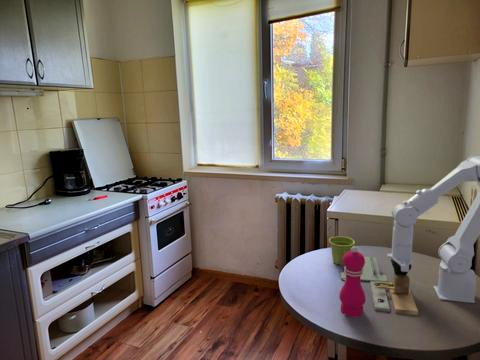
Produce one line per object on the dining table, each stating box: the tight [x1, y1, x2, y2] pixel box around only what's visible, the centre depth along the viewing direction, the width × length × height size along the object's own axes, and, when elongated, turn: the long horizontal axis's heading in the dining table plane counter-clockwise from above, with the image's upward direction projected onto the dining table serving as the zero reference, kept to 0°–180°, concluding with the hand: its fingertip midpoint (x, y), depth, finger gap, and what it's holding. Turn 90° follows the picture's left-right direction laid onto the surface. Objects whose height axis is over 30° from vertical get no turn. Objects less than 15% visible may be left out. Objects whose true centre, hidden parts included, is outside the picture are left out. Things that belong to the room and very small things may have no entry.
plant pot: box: [328, 235, 355, 266], centre depth 134 cm, size 9×9×9 cm
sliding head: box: [377, 273, 411, 294], centre depth 109 cm, size 9×2×5 cm, turn 74°
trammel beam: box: [375, 281, 419, 316], centre depth 108 cm, size 10×16×2 cm, turn 165°
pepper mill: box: [339, 246, 367, 318], centre depth 100 cm, size 7×7×20 cm
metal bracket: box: [340, 255, 388, 283], centre depth 125 cm, size 14×6×15 cm
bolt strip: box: [369, 281, 391, 313], centre depth 109 cm, size 4×16×1 cm, turn 164°
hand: (399, 282), depth 112 cm, fingers closed
